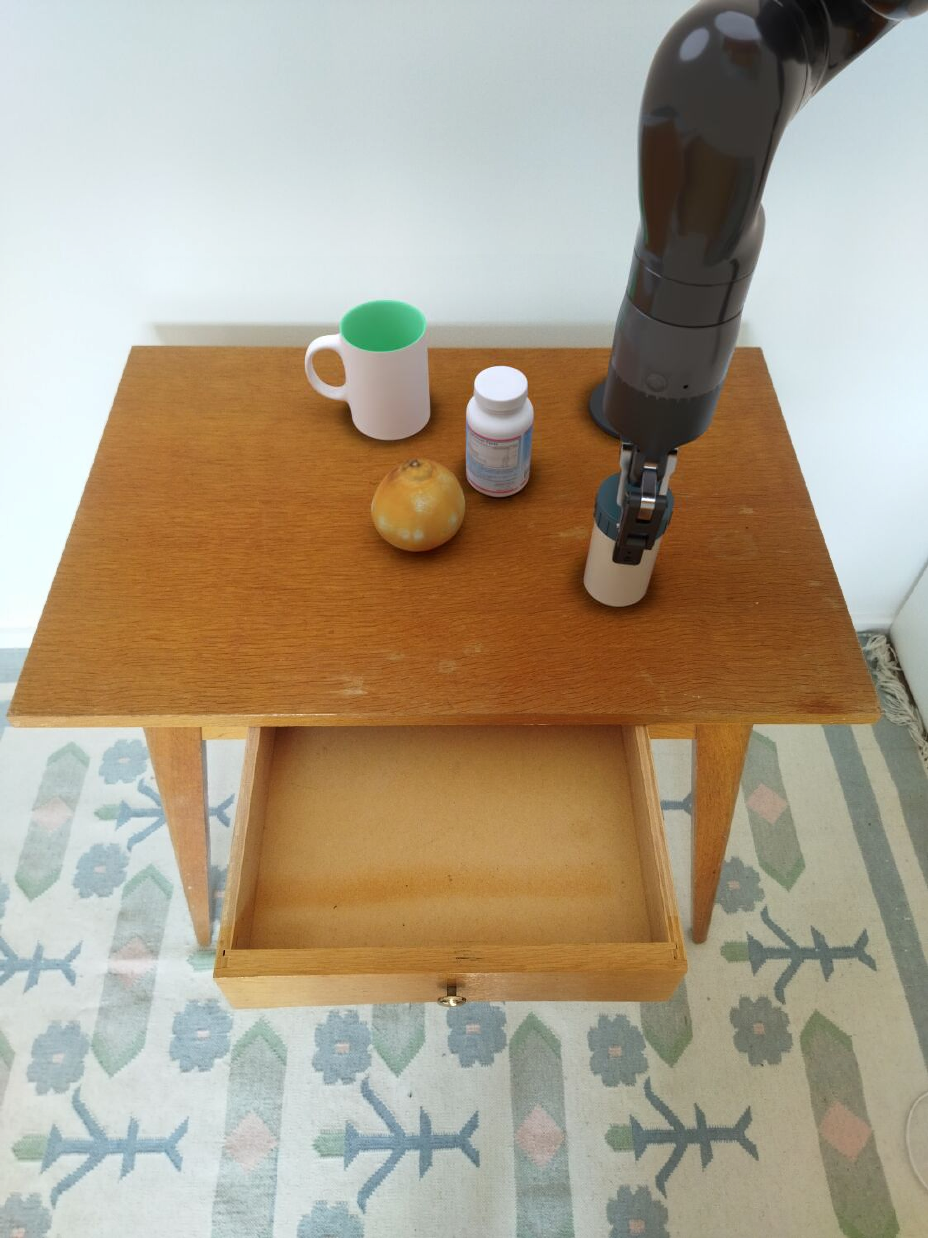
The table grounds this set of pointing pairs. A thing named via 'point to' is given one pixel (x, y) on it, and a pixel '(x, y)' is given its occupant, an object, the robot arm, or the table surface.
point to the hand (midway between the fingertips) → (627, 530)
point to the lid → (610, 510)
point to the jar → (616, 572)
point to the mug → (380, 368)
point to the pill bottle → (499, 432)
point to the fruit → (418, 505)
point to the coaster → (600, 410)
